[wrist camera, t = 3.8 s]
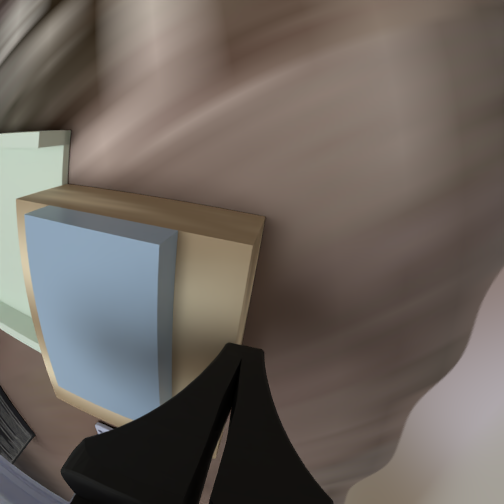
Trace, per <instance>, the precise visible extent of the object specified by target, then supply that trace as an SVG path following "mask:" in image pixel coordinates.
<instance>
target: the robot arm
mask: <svg viewBox="0 0 504 504" xmlns="http://www.w3.org/2000/svg"><path fill="white" fill-rule="evenodd" d="M231 407H232V409H231ZM230 410H231V416H230V422H229V429H228V436H227V441H226V445H225V449H224V452H223V456H222V459H221V463H220V466H219V470H218V473H217V477H216V480H215V483H214V487H213V490H212V493H211V497H210V500H209V504H334V503H333V501H332V499H331V498H330V497H329V496H328V495H327V494H326V493H325V492H324V490H323V489H322V488H321V487H320V486H319V484H318V483H317V482H316V481H315V479H314V478H313V477H312V475H311V474H310V473H309V471H308V470H307V468H306V467H305V465H304V464H303V462H302V461H301V459H300V457H299V456H298V454H297V453H296V451H295V449H294V448H293V446H292V444H291V442H290V440H289V438H288V436H287V434H286V432H285V430H284V428H283V426H282V423H281V421H280V419H279V416H278V414H277V411H276V408H275V405H274V402H273V399H272V396H271V392H270V388H269V384H268V380H267V376H266V370H265V362H264V352H263V350H262V349H257V348H252V347H248V346H243V345H239V344H234V343H230V342H229V343H227V344H225V346H224V347H223V349H222V350H221V352H220V353H219V354H218V355H217V357H216V358H215V359H214V360H213V361H212V362H211V363H210V365H209V366H208V367H207V368H206V369H205V370H204V371H203V372H202V373H201V374H200V375H199V376H198V377H197V378H195V379H194V380H193V381H192V382H191V383H190V384H189V385H187V386H186V387H185V388H184V389H183V390H182V391H180V392H179V393H178V394H176V395H175V396H174V397H172V398H171V399H169V400H168V401H167V402H165V403H164V404H162V405H160V406H159V407H157V408H156V409H154V410H152V411H151V412H149V413H147V414H145V415H143V416H141V417H140V418H137V419H135V420H133V421H131V422H129V423H127V424H124V425H122V426H120V427H118V428H115V429H113V428H111V427H108V426H106V425H104V424H102V423H99V422H97V423H96V424H95V427H96V430H97V432H98V434H97V435H94V436H91V437H87V438H84V439H83V441H82V442H81V443H80V444H79V445H78V446H77V447H76V448H75V449H74V450H73V452H72V453H71V455H70V456H69V458H68V459H67V461H66V462H65V464H64V465H63V467H62V469H61V475H62V477H63V478H64V480H65V481H66V483H67V484H68V485H69V486H70V488H71V489H72V490H73V491H74V495H73V497H72V499H71V500H70V502H69V501H66V500H64V499H62V498H61V497H59V496H57V495H56V494H54V493H53V492H51V491H49V490H48V489H46V488H45V487H43V486H42V485H40V484H39V483H37V482H36V481H34V480H33V479H31V478H30V477H29V476H27V475H26V474H24V473H23V472H22V471H20V470H19V469H18V468H16V467H15V466H14V465H13V464H11V463H10V462H9V461H7V460H6V459H5V458H4V457H3V456H1V455H0V504H199V501H200V498H201V494H202V491H203V487H204V484H205V480H206V477H207V473H208V470H209V466H210V463H211V459H212V457H213V454H214V451H215V448H216V446H217V443H218V441H219V438H220V436H221V433H222V431H223V428H224V426H225V423H226V421H227V418H228V415H229V413H230Z"/></svg>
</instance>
